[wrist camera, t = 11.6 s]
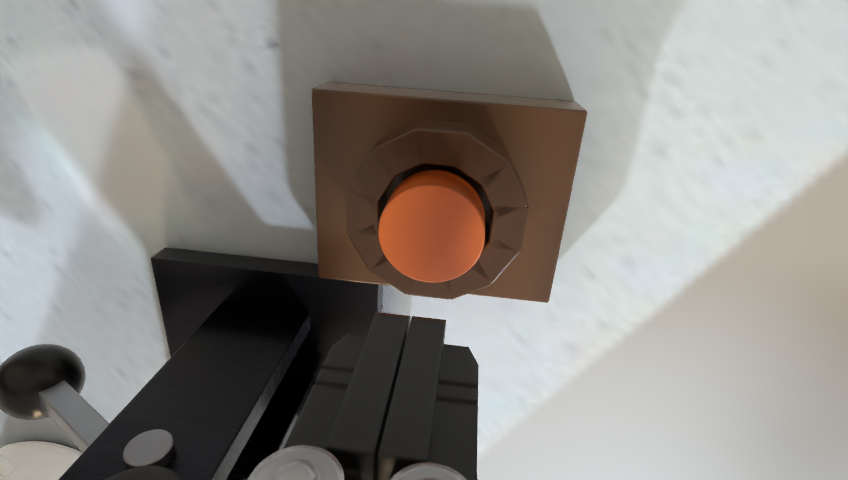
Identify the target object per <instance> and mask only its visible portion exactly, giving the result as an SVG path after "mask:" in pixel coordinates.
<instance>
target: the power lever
mask: <svg viewBox="0 0 848 480" xmlns="http://www.w3.org/2000/svg"><path fill="white" fill-rule="evenodd" d="M84 382H85V368H84V365H83V363H82V361H81V359H80V358H79V357H78V356H77V355H76V354H75V353H74V352H72V351H71V350H69V349H67V348H65V347H62V346H58V345H52V344H42V345H35V346H31V347H28V348H25V349H23V350H21V351H18V352H17V353H15V354H13V355H12V356H11V357H9V358H8V359H7V360H6V361H5V362H4V363H3V364H2V365H1V366H0V409H1V410H2V411H3V412H5V413H6V414H8V415H10V416H12V417H15V418H19V419H25V420H35V419H42V418H47V417H50V418H51V419H52V420H53V421H54V422H55V423H56V424H57V426H58V427H59V428H60V429H61V430H62V431H63V432H64V433H65V434H66V435H67V437H68V438H69V439H70V440H71V441H72V442H73V443H74V444H75V445H76V446H77V448H78V449H79V450H80V451H81V452H82V453H83V452H84V451H85V450H86V449H87V448H88V447H89V446H90V445H91V444H92V442H93V441H94V440H95V439H96V438H97V437H98V436H99V435H100V434H101V433H102V432H103V431H104V429H105V428H106V427H107V426H108V425H109V423H108V422H107V421H106V420H105V419H104V418H103V417H102V416H101V415H100V414H99V413H98V412H97V411H96V410H95V409H94V408H93V407H92V406H91V405H90V404H88V403H87V402H86V401H85V400H84V399H83V398H82V397H81V396H80V395H79V394H80V392H81V390H82V388H83V385H84Z"/></svg>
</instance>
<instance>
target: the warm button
mask: <svg viewBox="0 0 848 480" xmlns="http://www.w3.org/2000/svg"><path fill="white" fill-rule="evenodd" d="M378 237H379V242H380V245H381V248H382V251H383V253H384V255H385V256H386V258H387V259H388V261H389V262H390V263H391V264H392V265H393V266H394V267H395V268H396V269H397V270H398V271H400V272H401V273H402V274H404V275H406V276H408V277H410V278H413V279H415V280H419V281H423V282H433V283H435V282H444V281H449V280H452V279H455V278H457V277H459V276H461V275H462V274H464V273H466V272H467V271H468V270H469V269H470V268H471V267H472V266H473V265H474V264H475V263H476V261H477V260H478V259H479V257H480V255H481V253H482V250H483V247H484V242H485V215H484V208H483V204H482V201H481V199H480V197H479V195H478V193H477V192H476V190H475V189H474V188H473V187H472V186H471V185H470V184H469V183H468V182H467V181H466V180H464V179H463V178H461V177H460V176H458V175H455V174H453V173H450V172H447V171H442V170H426V171H422V172H418V173H415V174H413V175H411V176H409V177H407V178H406V179H405V180H403V181H402V182H401V183H400V184H399V185H398V186H397V187H396V188H395V190H394V191H393V193H392V195H391V197H390V198H389V200H388V202H387V204H386V206H385V208H384V210H383V212H382V215H381V217H380V221H379V227H378Z"/></svg>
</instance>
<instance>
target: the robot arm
mask: <svg viewBox="0 0 848 480" xmlns="http://www.w3.org/2000/svg"><path fill="white" fill-rule="evenodd" d="M445 326H446V320H440V319H432V318H423V317H415V316H412V319H411V323H410V316H405V315H397V314H388V313H380V312H376V313H375V315H374V318H373V320H372V323H371V326H370V328H369V331H368V334H367V335H362V334H354V333H347V334H346V335H345V336H344V337H343V338H341V339H340V340H339V341H338V342H337V343H335V344H334V345H333V346H332V347H331V349H330V351H329V353H328V355H327V357H326V359H325V361H324V363H323V367H322V369H321V370H320V372H319V374H318V376H317V378H316V381H315V384H314V385H313V387H312V389H311V391H310V393H309V395H308V397H307V400H306V402H305V404H304V406H303V408H302V410H301V412H300V414H299V417H298V419H297V421H296V423H295V425H294V427H293V429H292V431H291V434H290V436H289V438H288V440H287V442H286V444H285V446H284V448H283V449H281V450H279V451H276V452H274V453H273V454H271V455H269V456H268V457H266V458H265V459H264V460H263V461H261V462H260V463H259V464H258V465H257V466H256V468H255V469H254V470H253V472H252V473H251V474H250V476H249V477H248V478H246V479H243V480H477V417H478V406H477V404H478V364H477V362H476V360H475V358H474V356H473V354H472V353H471V351H470V349H469V347H462V346H454V345H446V344H444V337H445ZM105 480H181V479H180V478H179V477H178V475H177V474H176V473H174V472H173V471H172V470H169V469H167V468H165V467H160V466H140V467H135V468H131V469H128V470H125V471H122V472H119V473H117V474H115V475H113V476H111V477H109V478H107V479H105Z"/></svg>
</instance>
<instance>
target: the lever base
mask: <svg viewBox="0 0 848 480" xmlns="http://www.w3.org/2000/svg"><path fill="white" fill-rule="evenodd" d="M151 262H152V267H153V272H154V277H155V282H156V287H157V292H158V297H159V301H160V306H161V311H162V316H163V321H164V326H165V331H166V336H167V340H168V345H169V350H170V355H171V358H170V359H169V360H168V361H167V362H166V363H165V365H164V366H163V367H162V368H161V369H160V370H159V371H158V372H157V373H156V374H155V375H154V376H153V378H152V379H151V380H150V381H149V382H148V383H147V384H146V385H145V386H144V387H143V388H142V389H141V391H140V392H139V393H138V394H137V395H136V396H135V397H134V398H133V399H132V400H131V401H130V402H129V404H128V405H127V406H126V407H125V408H124V409H123V410H122V411H121V412H120V413H119V414H118V415H117V416H116V418H115V419H114V420H113V421H112V422H111V423H110V424H109V425H108V426H107V427H106V428H105V429H104V431H103V432H102V433H101V434H100V435H99V436H98V437H97V438H96V439H95V440H94V441H93V442H92V444H91V445H90V446H89V447H88V448H87V449H86V450H85V451H84V452H83V453H82V454H81V455H80V457H79V458H78V459H77V460H76V461H75V462H74V463H73V464H72V465H71V466H70V467H69V468H68V470H67V471H66V472H65V473H64V474H63V475H62V476H61V477H60V478H59V479H58V480H105V479H107V478H109V477H111V476H113V475H115V474H117V473H119V472H122V471H125V470H128V469H131V468H135V467H140V466H160V467H165V468H167V469H169V470H172V471H173V472H174V473H176V474H177V475H178V477H179V478H180V479H181V480H243V479H246V478H248V477H249V476H250V474H251V473H252V472H253V470H254V469H255V468H256V466H257V465H258V464H259V463H260V462H261V461H263V460H264V459H265V458H266V457H268V456H269V455H271V454H273V453H274V452H276V451H279V450H281V449H283V448H284V446H285V444H286V442H287V440H288V438H289V436H290V434H291V431H292V429H293V427H294V425H295V423H296V421H297V419H298V417H299V414H300V412H301V410H302V408H303V406H304V404H305V402H306V400H307V397H308V395H309V393H310V391H311V389H312V387H313V385H314V384H315V381H316V378H317V376H318V374H319V372H320V370H321V369H322V367H323V363H324V361H325V359H326V357H327V355H328V353H329V351H330V349H331V347H332V346H333V345H334V344H335V343H337V342H338V341H339V340H340V339H341V338H343V337H344V336H345V335H346V334H347V333H354V334H362V335H367V334H368V331H369V328H370V326H371V323H372V320H373V318H374V315H375V313H376V312H380V313H382V292H383V285H382V284H373V283H364V282H355V281H346V280H337V279H328V278H320V277H319V273H318V264H314V263H304V262H295V261H286V260H276V259H267V258H258V257H249V256H239V255H230V254H221V253H211V252H202V251H193V250H184V249H174V248H164V249H163V250H161V251H160V252H158V253H157V254H156V255H154V256H153V257H151Z"/></svg>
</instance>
